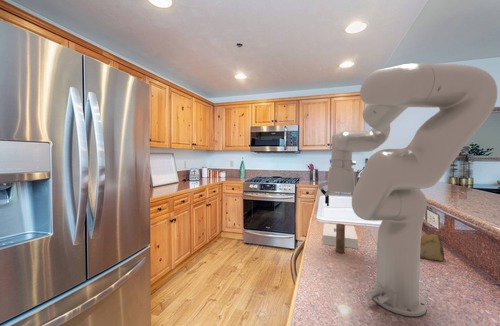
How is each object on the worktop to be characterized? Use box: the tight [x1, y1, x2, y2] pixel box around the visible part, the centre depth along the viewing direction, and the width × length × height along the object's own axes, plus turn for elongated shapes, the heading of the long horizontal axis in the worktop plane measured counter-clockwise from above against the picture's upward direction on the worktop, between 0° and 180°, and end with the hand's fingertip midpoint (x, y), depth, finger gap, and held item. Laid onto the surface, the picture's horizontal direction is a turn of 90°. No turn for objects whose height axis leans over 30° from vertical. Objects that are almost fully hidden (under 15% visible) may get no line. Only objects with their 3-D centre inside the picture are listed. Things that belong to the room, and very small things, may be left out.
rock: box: [420, 233, 445, 262], centre depth 84 cm, size 11×9×10 cm
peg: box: [335, 223, 346, 254], centre depth 88 cm, size 3×3×11 cm
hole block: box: [321, 222, 359, 250], centre depth 102 cm, size 18×14×4 cm
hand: (340, 206), depth 88 cm, fingers open, 9 cm apart
